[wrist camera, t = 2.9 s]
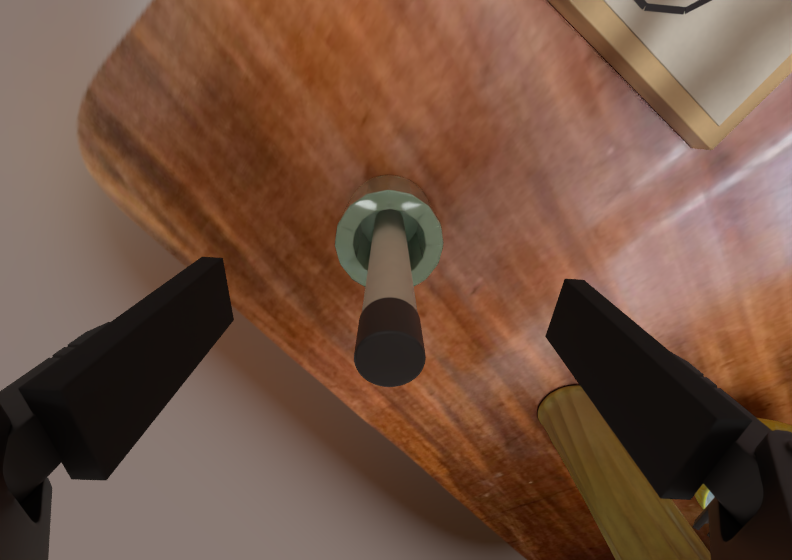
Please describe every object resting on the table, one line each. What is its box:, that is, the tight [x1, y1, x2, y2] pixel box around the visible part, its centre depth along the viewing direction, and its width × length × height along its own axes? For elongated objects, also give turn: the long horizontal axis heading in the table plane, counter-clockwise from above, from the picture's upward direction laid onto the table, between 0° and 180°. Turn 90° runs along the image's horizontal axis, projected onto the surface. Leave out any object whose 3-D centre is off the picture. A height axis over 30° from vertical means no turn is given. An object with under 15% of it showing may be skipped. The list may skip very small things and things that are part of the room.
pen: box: [354, 209, 426, 387], centre depth 16 cm, size 2×2×15 cm
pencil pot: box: [335, 175, 443, 287], centre depth 21 cm, size 6×6×6 cm
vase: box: [538, 385, 711, 560], centre depth 25 cm, size 6×6×14 cm
